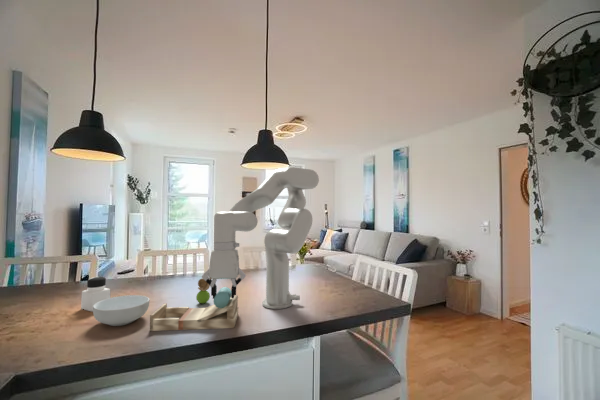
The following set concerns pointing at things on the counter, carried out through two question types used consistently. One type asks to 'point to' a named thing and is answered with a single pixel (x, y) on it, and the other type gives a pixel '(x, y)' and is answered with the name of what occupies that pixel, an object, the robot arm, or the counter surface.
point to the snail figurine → (203, 291)
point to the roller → (222, 297)
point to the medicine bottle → (94, 293)
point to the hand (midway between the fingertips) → (223, 296)
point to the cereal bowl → (120, 309)
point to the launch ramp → (194, 317)
